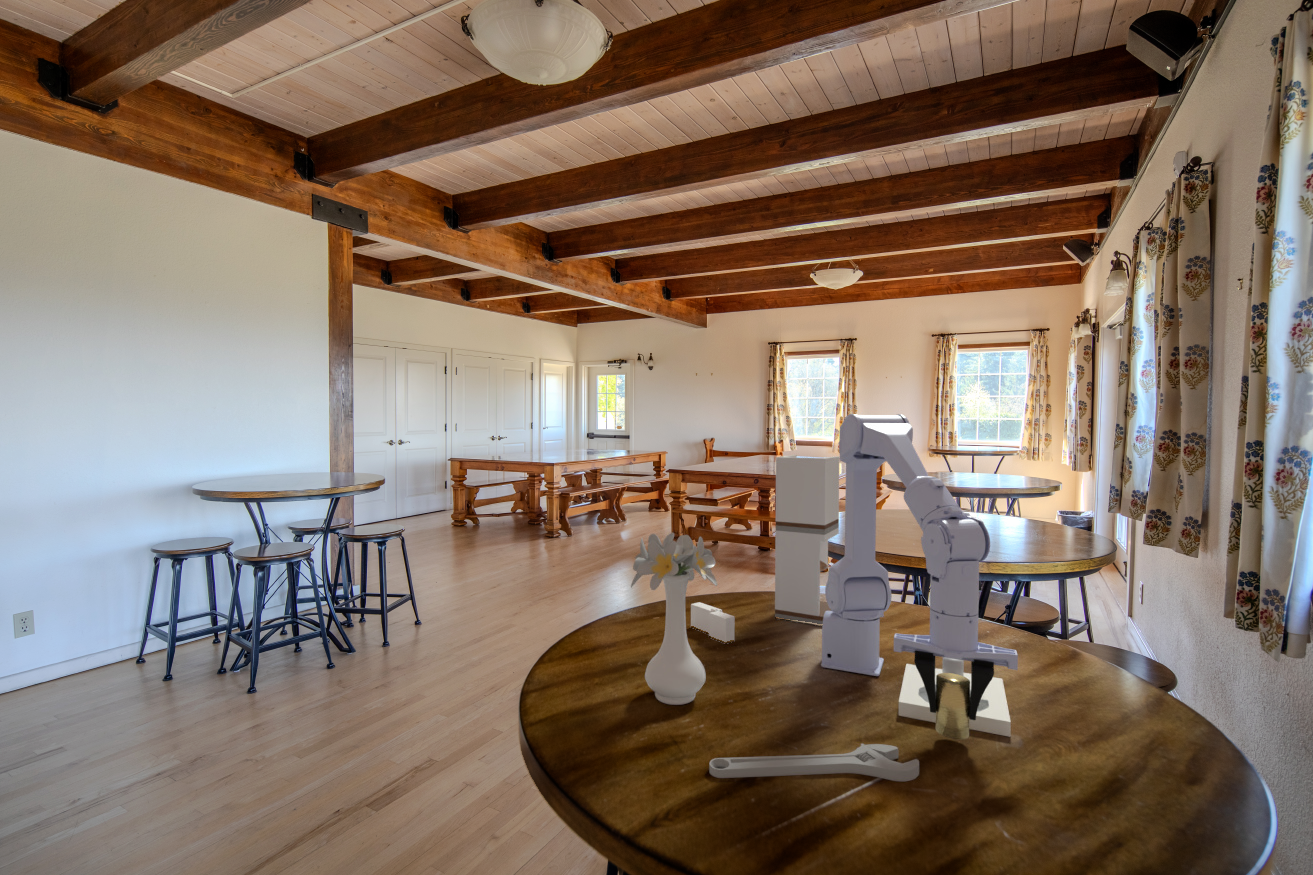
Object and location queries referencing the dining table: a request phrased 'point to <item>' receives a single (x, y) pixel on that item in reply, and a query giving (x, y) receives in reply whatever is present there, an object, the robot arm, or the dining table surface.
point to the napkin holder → (713, 621)
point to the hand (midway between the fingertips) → (952, 712)
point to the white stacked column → (804, 533)
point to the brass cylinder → (952, 705)
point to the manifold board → (993, 700)
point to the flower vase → (674, 614)
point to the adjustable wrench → (821, 764)
